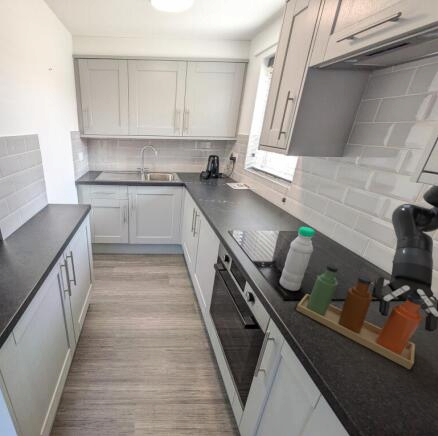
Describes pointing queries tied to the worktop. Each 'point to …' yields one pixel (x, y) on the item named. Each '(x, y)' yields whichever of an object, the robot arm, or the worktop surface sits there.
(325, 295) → the sage bottle
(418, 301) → the terracotta bottle
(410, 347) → the tray
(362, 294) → the amber bottle
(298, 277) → the water bottle
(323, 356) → the worktop surface
